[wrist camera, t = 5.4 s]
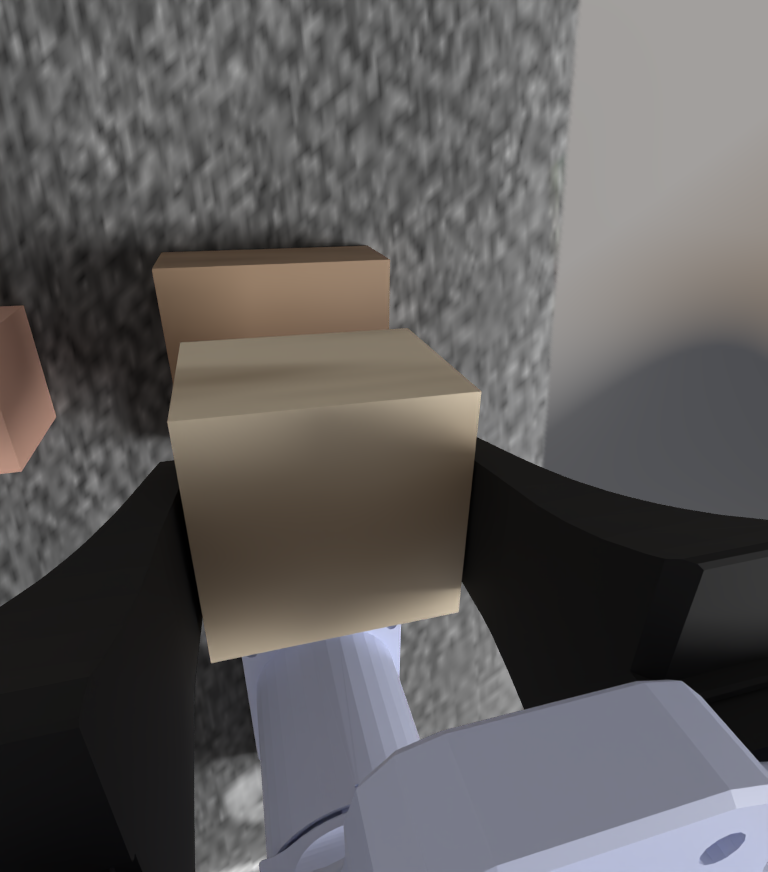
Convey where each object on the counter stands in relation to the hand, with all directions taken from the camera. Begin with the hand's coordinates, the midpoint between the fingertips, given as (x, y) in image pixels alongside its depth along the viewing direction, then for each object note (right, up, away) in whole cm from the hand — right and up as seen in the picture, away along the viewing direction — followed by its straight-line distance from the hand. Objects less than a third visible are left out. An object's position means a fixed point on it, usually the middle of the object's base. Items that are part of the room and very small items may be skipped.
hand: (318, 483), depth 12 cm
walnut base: (-3, +4, +9) cm, 10 cm away
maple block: (0, +1, +1) cm, 2 cm away
